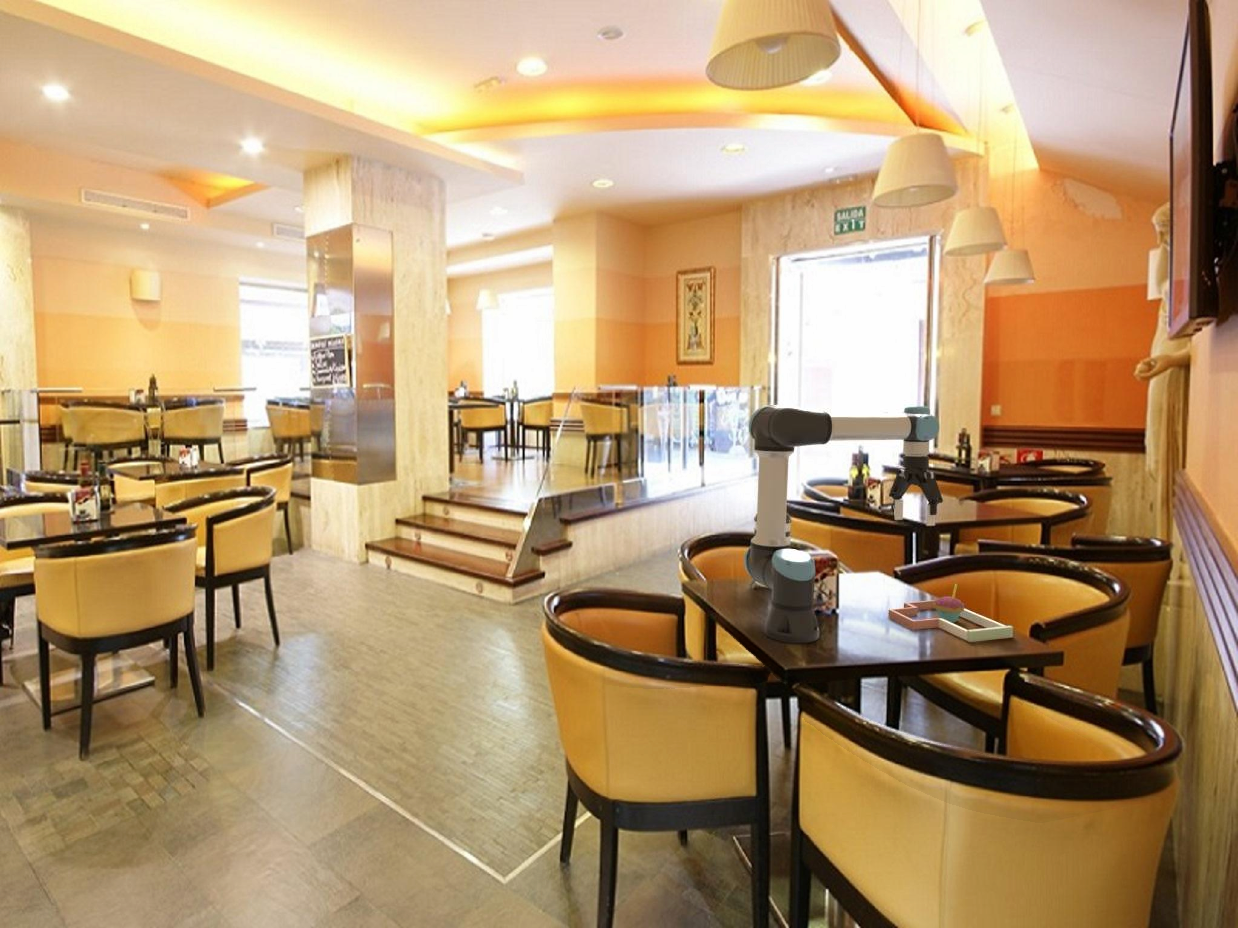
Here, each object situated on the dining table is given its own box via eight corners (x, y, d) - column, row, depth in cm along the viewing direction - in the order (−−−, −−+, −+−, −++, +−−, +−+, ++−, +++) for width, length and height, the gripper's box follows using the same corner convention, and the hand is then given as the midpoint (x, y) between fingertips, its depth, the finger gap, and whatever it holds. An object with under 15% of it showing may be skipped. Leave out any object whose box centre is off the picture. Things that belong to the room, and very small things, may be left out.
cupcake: (957, 615, 213) (959, 577, 212) (968, 625, 205) (970, 585, 203) (928, 614, 214) (930, 577, 212) (938, 624, 205) (940, 584, 204)
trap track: (942, 644, 189) (943, 634, 188) (879, 612, 216) (879, 603, 215) (1012, 637, 195) (1013, 626, 194) (942, 606, 222) (942, 597, 221)
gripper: (957, 457, 207) (954, 527, 208) (896, 453, 230) (895, 516, 231) (937, 457, 204) (935, 528, 205) (878, 453, 228) (877, 517, 229)
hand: (914, 522), depth 218 cm, fingers open, 13 cm apart
